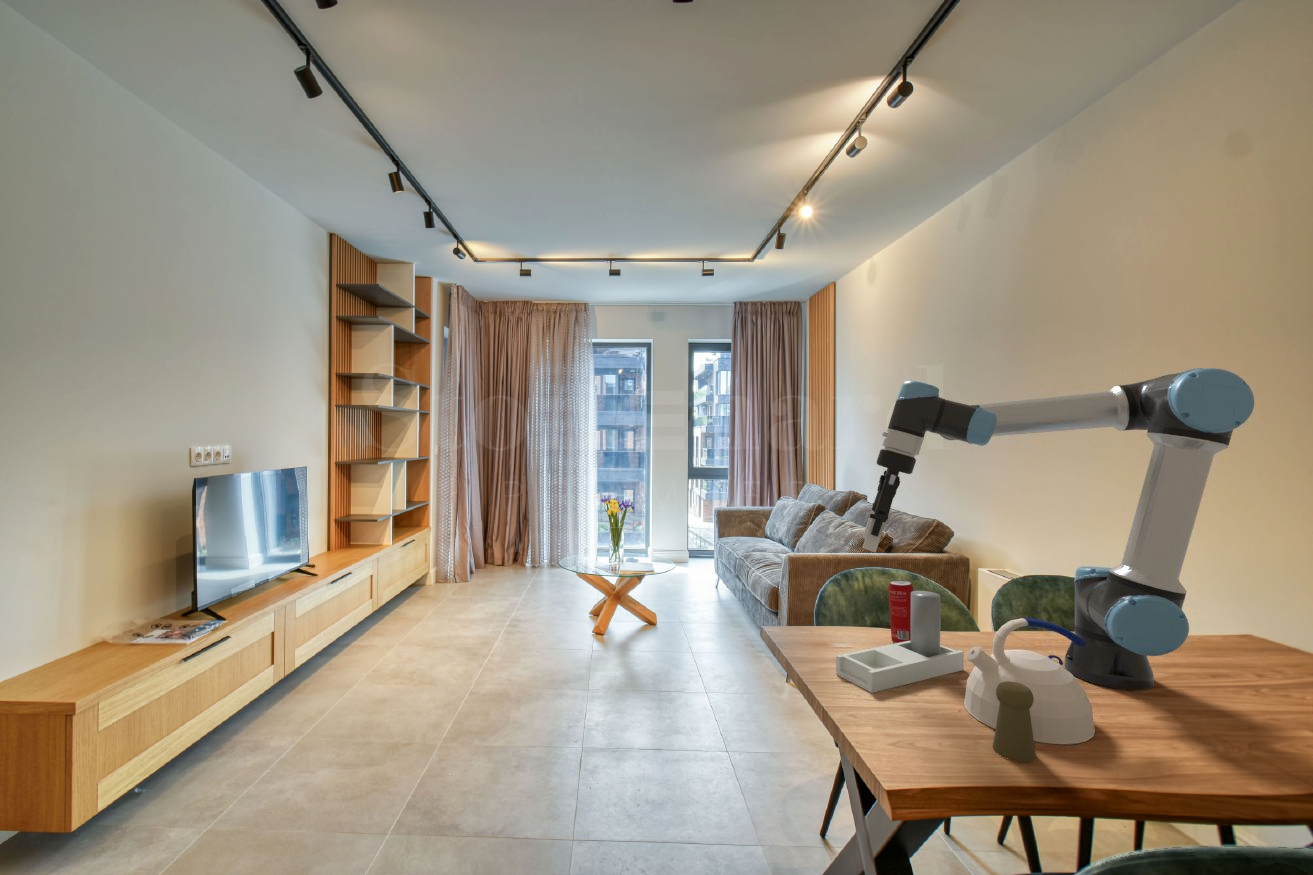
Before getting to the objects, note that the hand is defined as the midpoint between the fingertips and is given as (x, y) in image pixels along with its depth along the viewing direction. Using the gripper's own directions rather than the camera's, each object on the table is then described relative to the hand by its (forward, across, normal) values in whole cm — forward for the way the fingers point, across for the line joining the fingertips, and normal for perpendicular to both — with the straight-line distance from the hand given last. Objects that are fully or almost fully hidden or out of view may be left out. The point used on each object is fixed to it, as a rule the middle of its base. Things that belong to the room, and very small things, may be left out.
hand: (868, 544), depth 129 cm
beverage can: (+24, -20, +16) cm, 35 cm away
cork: (+20, +28, +29) cm, 45 cm away
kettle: (+19, +13, +34) cm, 41 cm away
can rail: (+24, 0, +14) cm, 28 cm away
